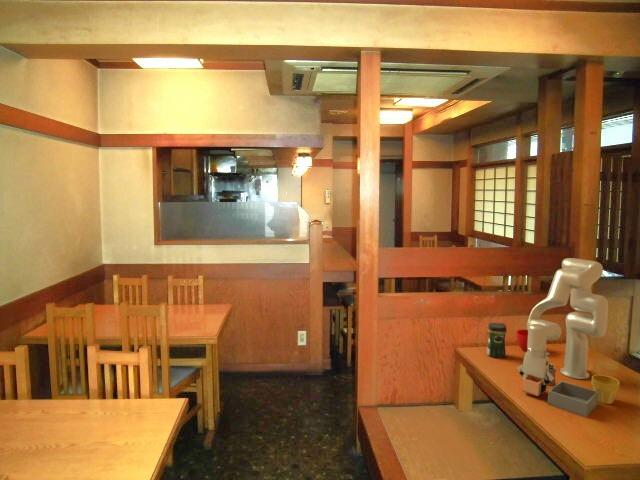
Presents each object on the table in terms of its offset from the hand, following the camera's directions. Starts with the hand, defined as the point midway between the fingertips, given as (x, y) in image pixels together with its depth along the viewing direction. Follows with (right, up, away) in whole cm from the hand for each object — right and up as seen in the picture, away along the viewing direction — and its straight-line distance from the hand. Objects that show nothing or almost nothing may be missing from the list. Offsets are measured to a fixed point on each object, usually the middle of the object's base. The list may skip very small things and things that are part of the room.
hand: (534, 388), depth 199 cm
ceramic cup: (+24, +4, +53) cm, 58 cm away
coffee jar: (0, +3, +45) cm, 45 cm away
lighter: (+11, -1, +11) cm, 16 cm away
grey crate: (+12, -4, -10) cm, 16 cm away
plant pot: (+28, -3, -6) cm, 29 cm away
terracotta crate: (0, -1, 0) cm, 1 cm away
